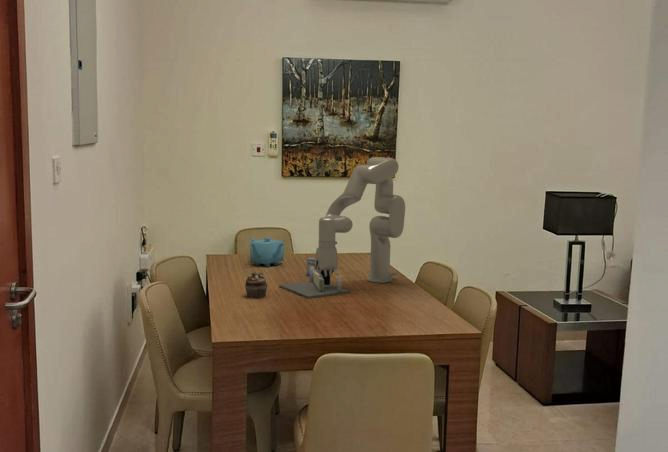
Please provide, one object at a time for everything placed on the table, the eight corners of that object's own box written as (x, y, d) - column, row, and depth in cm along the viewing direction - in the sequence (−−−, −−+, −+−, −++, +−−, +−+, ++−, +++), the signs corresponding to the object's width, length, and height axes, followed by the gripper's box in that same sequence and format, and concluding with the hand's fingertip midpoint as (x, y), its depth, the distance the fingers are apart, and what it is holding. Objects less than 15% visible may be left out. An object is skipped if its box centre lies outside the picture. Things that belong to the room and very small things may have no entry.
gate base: (319, 282, 306) (319, 265, 305) (349, 292, 286) (350, 275, 285) (279, 287, 294) (279, 269, 293) (308, 298, 274) (308, 280, 273)
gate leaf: (316, 281, 301) (317, 270, 301) (323, 290, 283) (324, 279, 282) (312, 281, 301) (312, 270, 300) (319, 290, 282) (319, 279, 282)
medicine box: (306, 275, 320) (306, 258, 319) (309, 274, 324) (310, 257, 323) (320, 277, 317) (321, 260, 316) (324, 275, 321) (324, 258, 320)
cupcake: (241, 297, 273) (241, 274, 272) (251, 292, 283) (251, 270, 281) (261, 299, 270) (261, 276, 269) (271, 294, 279) (271, 272, 278)
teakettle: (282, 261, 357) (282, 235, 356) (285, 267, 339) (285, 240, 337) (248, 261, 354) (248, 235, 352) (249, 268, 336) (249, 240, 334)
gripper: (335, 242, 295) (335, 281, 298) (308, 244, 287) (308, 284, 290) (345, 244, 289) (344, 284, 292) (317, 247, 281) (317, 288, 283)
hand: (326, 284), depth 291 cm, fingers closed
